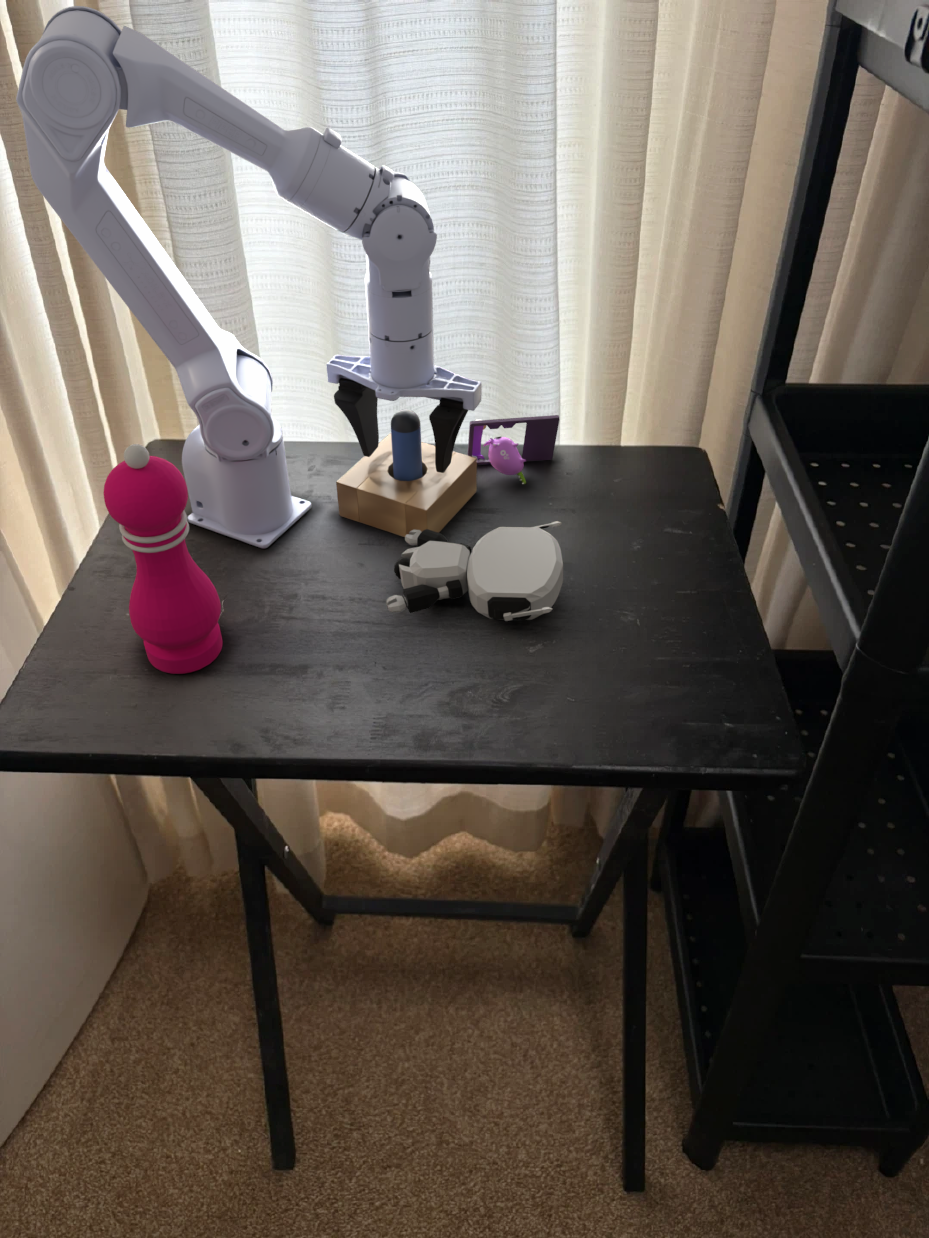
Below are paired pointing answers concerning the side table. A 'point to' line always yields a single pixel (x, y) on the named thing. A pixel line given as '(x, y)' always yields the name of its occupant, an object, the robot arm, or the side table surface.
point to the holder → (406, 491)
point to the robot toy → (483, 572)
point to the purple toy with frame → (504, 449)
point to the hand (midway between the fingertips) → (406, 459)
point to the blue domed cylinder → (406, 445)
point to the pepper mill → (163, 564)
